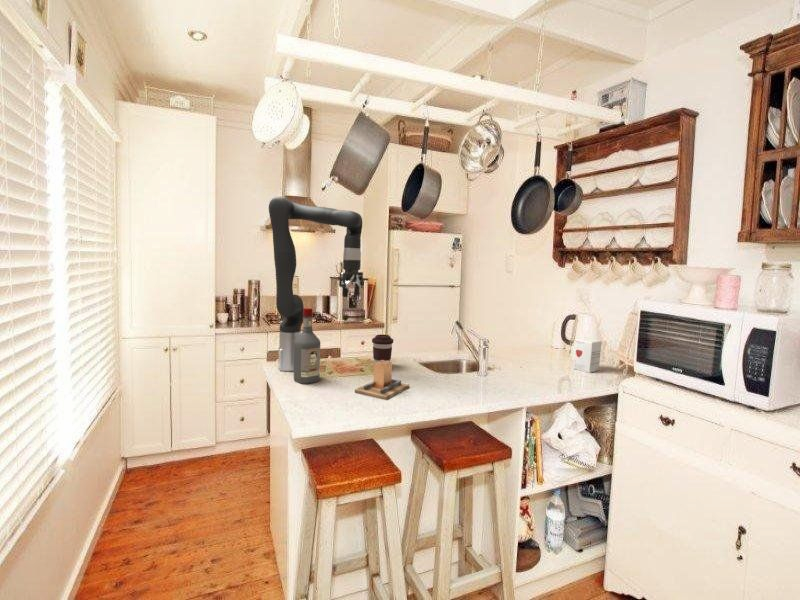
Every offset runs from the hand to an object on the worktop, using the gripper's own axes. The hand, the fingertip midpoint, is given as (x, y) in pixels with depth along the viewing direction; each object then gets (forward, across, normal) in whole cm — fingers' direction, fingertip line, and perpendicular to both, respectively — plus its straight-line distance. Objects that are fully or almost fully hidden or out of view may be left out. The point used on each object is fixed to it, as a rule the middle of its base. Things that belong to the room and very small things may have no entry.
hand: (350, 296), depth 193 cm
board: (+34, +12, +25) cm, 44 cm away
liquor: (+34, +20, -7) cm, 40 cm away
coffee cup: (+34, -16, +7) cm, 39 cm away
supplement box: (+34, -74, +89) cm, 121 cm away
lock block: (+33, +12, +25) cm, 43 cm away
